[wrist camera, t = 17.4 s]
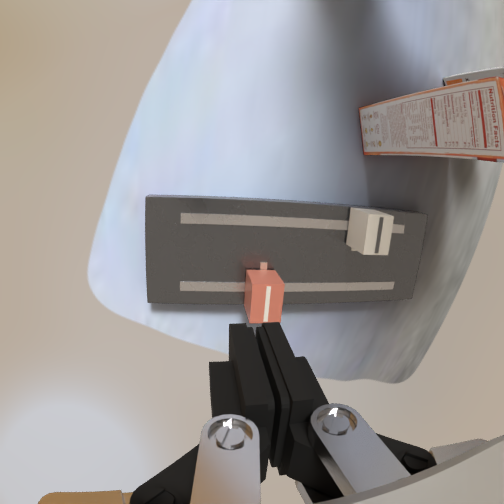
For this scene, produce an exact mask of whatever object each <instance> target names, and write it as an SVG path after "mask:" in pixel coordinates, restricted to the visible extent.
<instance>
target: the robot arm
mask: <svg viewBox="0 0 504 504" xmlns="http://www.w3.org/2000/svg"><path fill="white" fill-rule="evenodd" d="M209 375H210V393H211V408H212V419H211V420H209V421H208V422H207V423H206V424H205V425H204V427H203V429H202V431H201V438H200V444H198V445H197V446H196V447H195V448H193V449H192V450H191V451H189V452H188V453H186V454H185V455H184V456H182V457H181V458H180V459H178V460H177V461H176V462H174V463H173V464H171V465H170V466H169V467H167V468H166V469H164V470H163V471H161V472H160V473H159V474H157V475H156V476H154V477H153V478H151V479H150V480H148V481H147V482H145V483H144V484H142V485H141V486H139V487H138V488H137V489H136V490H135V491H134V492H129V493H122V492H121V490H116V491H99V492H54V493H49V494H47V495H45V496H44V497H42V498H41V500H40V501H39V502H38V504H261V496H260V484H261V483H262V482H263V481H264V480H265V479H266V472H267V466H268V459H269V460H270V464H271V466H272V467H277V468H278V471H279V475H287V476H288V477H290V478H292V479H294V480H295V483H296V487H297V489H298V491H299V493H300V495H301V497H302V498H303V500H304V502H305V504H504V435H502V436H500V437H497V438H494V439H492V440H490V441H486V440H483V439H474V440H470V441H465V442H460V443H455V444H451V445H446V446H440V447H434V448H431V449H430V451H427V450H425V449H422V448H420V447H417V446H413V445H410V444H407V443H404V442H401V441H398V440H394V439H391V438H388V437H385V436H382V435H380V434H377V433H375V432H374V431H373V430H372V428H371V427H370V426H369V425H368V424H367V422H366V421H365V420H364V419H363V418H362V417H361V415H360V414H359V413H358V412H357V411H356V410H354V409H353V408H351V407H349V406H346V405H343V404H333V403H332V404H329V403H328V401H327V399H326V397H325V395H324V393H323V391H322V389H321V387H320V385H319V383H318V381H317V379H316V377H315V375H314V373H313V371H312V369H311V367H310V365H309V363H308V361H307V359H306V358H305V357H295V356H294V354H293V351H292V349H291V347H290V345H289V343H288V340H287V338H286V336H285V334H284V332H283V330H282V327H281V325H280V323H279V322H267V323H262V327H257V328H256V338H255V335H254V331H253V328H252V327H247V325H246V323H242V324H229V361H226V362H209Z"/></svg>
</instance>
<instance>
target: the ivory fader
mask: <svg viewBox="0 0 504 504" xmlns="http://www.w3.org/2000/svg"><path fill="white" fill-rule="evenodd" d="M393 220H394V216H392V215H389V214H386V213H383V212H380V211H377V210H374V209H363V208H352V207H351V209H350V218H349V226H348V233H347V241H346V244H347V245H348V246H350V247H352V248H353V249H355V250H356V251H358V252H360V253H361V254H363V255H388V252H389V246H390V240H391V234H392V227H393Z"/></svg>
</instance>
